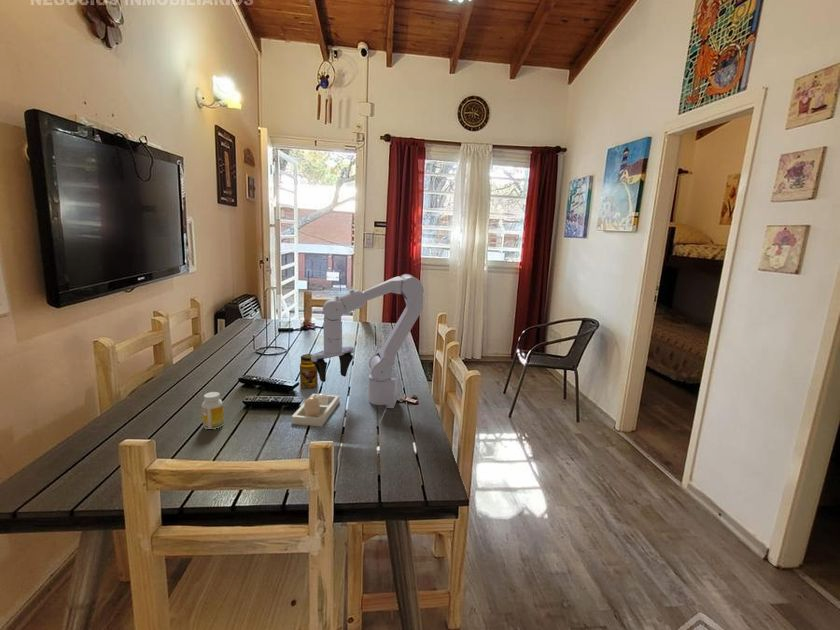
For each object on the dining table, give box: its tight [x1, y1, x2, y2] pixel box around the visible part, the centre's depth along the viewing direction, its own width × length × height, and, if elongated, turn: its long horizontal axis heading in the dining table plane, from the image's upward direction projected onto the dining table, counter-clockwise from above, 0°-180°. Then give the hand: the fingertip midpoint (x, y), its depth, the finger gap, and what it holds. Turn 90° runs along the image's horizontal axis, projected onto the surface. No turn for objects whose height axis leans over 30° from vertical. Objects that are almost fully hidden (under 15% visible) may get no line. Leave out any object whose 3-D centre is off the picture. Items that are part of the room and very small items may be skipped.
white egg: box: [316, 392, 328, 406], centre depth 131 cm, size 4×4×4 cm
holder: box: [291, 393, 340, 427], centre depth 127 cm, size 9×17×3 cm, turn 174°
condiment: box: [299, 353, 319, 390], centre depth 147 cm, size 7×8×12 cm
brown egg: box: [303, 396, 320, 417], centre depth 123 cm, size 4×4×7 cm
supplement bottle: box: [201, 391, 225, 430], centre depth 117 cm, size 5×5×10 cm
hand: (333, 378), depth 133 cm, fingers open, 7 cm apart
